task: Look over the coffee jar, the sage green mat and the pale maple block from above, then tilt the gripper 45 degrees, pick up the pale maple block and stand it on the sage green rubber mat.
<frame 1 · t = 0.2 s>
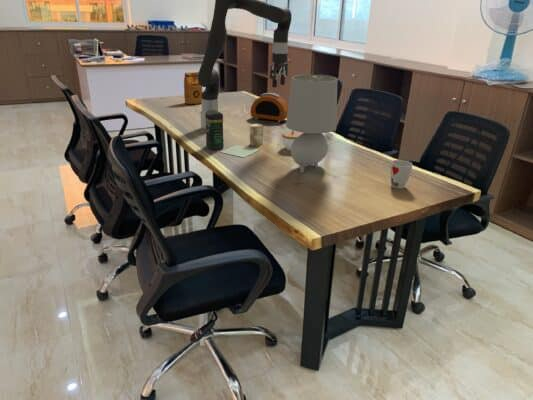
hand: (278, 86, 211), 29 cm above the table, tool pointing down, fingers open, 8 cm apart
coffee package: (194, 103, 303), on the table
table lamp: (307, 168, 188), on the table
coffee jar: (215, 147, 212), on the table
maple block: (256, 144, 218), on the table
green mat: (240, 151, 207), on the table
cup: (398, 186, 172), on the table
lidded jar: (291, 149, 213), on the table
alarm clock: (269, 119, 266), on the table
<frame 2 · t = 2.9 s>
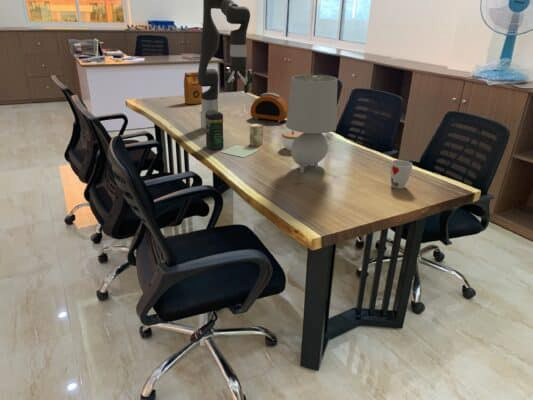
hand: (238, 91, 194), 29 cm above the table, tool pointing down, fingers open, 8 cm apart
nothing on the table moved.
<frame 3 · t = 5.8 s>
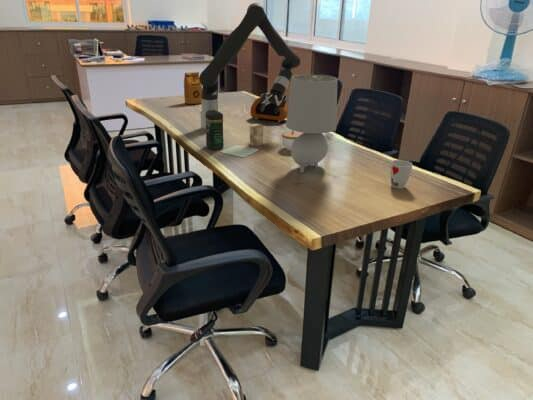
hand: (268, 111, 221), 15 cm above the table, tool tilted 45°, fingers open, 8 cm apart
nothing on the table moved.
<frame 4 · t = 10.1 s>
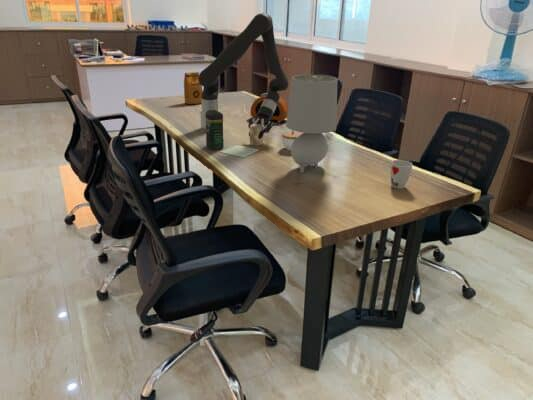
hand: (254, 137, 215), 4 cm above the table, tool tilted 45°, fingers closed on maple block, 5 cm apart
maple block: (256, 144, 218), on the table, touching gripper
everything else where it was.
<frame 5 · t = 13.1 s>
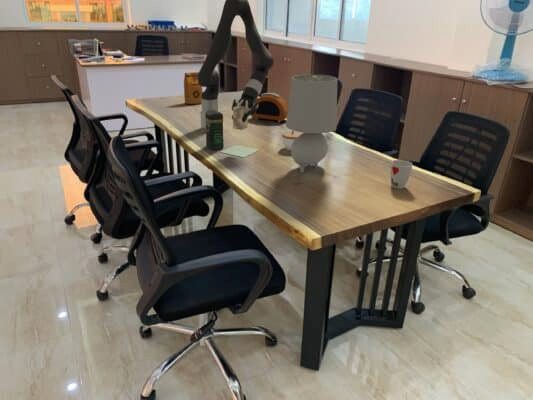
hand: (238, 120, 198), 16 cm above the table, tool tilted 45°, fingers closed on maple block, 5 cm apart
maple block: (240, 128, 202), point 12 cm above the table, touching gripper
everything else where it was.
when the fingers open (6 cm above the table, at t = 16.2 s): maple block drops 1 cm, resting on green mat.
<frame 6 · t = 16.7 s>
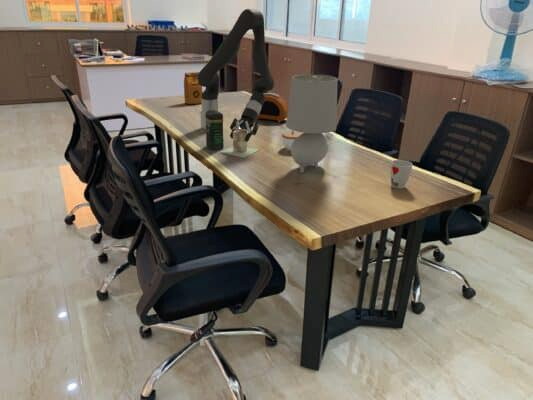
hand: (238, 139, 203), 6 cm above the table, tool tilted 45°, fingers open, 8 cm apart
maple block: (240, 150, 206), resting on green mat
everything else where it was.
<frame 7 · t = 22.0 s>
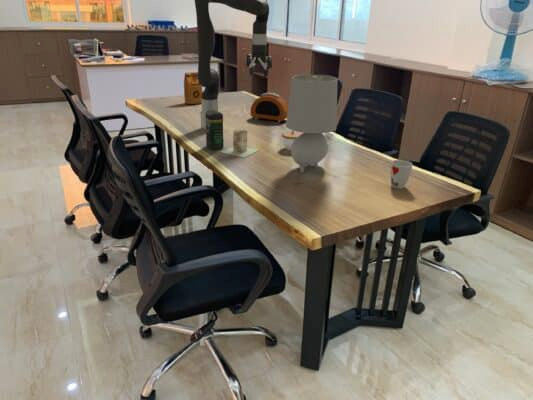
hand: (258, 76, 219), 32 cm above the table, tool pointing down, fingers open, 8 cm apart
nothing on the table moved.
at the end: maple block inside the target area on the green mat (0.0 cm from its centre), point 0.3 cm above the green mat's base; maple block tilted 0°; the gripper is holding nothing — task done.
